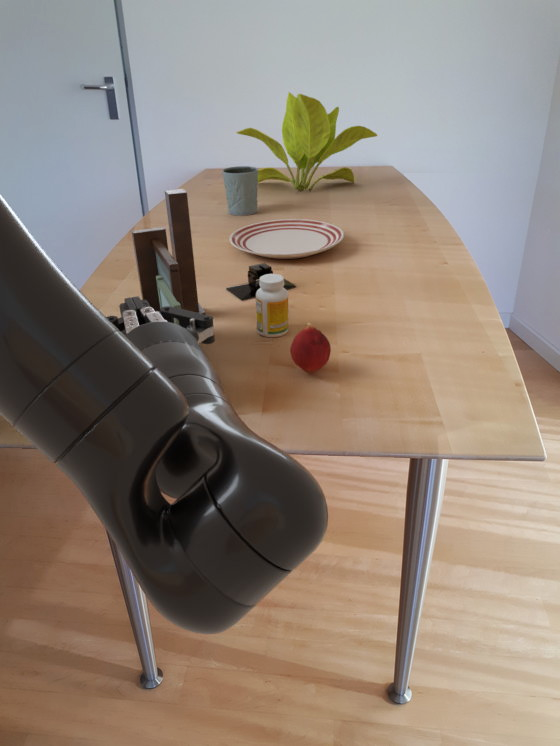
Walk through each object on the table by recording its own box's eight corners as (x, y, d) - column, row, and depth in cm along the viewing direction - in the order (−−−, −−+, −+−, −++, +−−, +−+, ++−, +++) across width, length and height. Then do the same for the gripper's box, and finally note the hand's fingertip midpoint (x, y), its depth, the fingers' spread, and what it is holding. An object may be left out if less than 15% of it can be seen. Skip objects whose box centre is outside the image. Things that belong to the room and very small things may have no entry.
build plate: (241, 301, 105) (240, 278, 102) (225, 289, 110) (223, 267, 108) (296, 287, 110) (296, 265, 108) (277, 276, 115) (277, 255, 113)
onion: (331, 364, 83) (333, 316, 79) (326, 383, 78) (328, 334, 74) (294, 361, 84) (294, 313, 80) (287, 380, 79) (286, 330, 75)
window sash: (158, 410, 71) (142, 311, 64) (143, 370, 79) (127, 279, 72) (192, 402, 72) (180, 304, 65) (173, 364, 81) (161, 274, 74)
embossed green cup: (265, 210, 163) (264, 167, 157) (247, 218, 155) (244, 174, 149) (237, 206, 167) (235, 165, 161) (218, 214, 160) (215, 171, 154)
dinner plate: (251, 273, 117) (250, 258, 115) (216, 238, 139) (215, 225, 137) (364, 256, 125) (365, 242, 124) (314, 225, 147) (314, 213, 146)
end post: (179, 323, 96) (163, 196, 85) (173, 313, 100) (157, 189, 89) (206, 318, 98) (194, 192, 87) (199, 308, 102) (187, 186, 91)
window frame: (170, 423, 71) (151, 294, 61) (133, 332, 94) (115, 228, 85) (229, 409, 73) (219, 283, 64) (179, 323, 96) (166, 222, 87)
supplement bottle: (251, 334, 92) (248, 280, 87) (266, 322, 96) (264, 270, 91) (279, 340, 90) (278, 286, 85) (293, 327, 94) (293, 274, 89)
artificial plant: (380, 208, 186) (392, 124, 188) (321, 148, 150) (336, 45, 152) (278, 216, 209) (290, 141, 211) (205, 166, 173) (220, 76, 175)
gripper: (245, 327, 43) (191, 261, 57) (69, 362, 39) (56, 281, 53) (250, 406, 47) (198, 326, 61) (90, 446, 42) (73, 350, 56)
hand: (132, 305), depth 56 cm, fingers closed
